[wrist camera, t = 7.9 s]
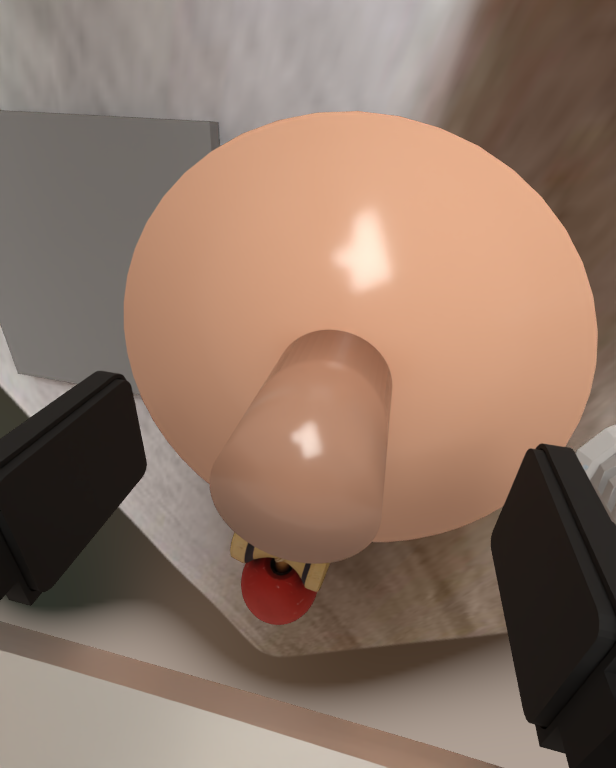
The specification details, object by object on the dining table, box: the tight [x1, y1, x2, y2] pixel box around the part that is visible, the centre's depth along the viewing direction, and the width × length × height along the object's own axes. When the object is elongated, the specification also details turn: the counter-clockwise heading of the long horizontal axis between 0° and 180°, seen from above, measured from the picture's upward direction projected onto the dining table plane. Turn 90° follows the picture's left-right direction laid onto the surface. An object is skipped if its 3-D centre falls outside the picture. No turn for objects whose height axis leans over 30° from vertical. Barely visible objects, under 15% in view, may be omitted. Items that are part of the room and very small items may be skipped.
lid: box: [124, 111, 598, 564], centre depth 11 cm, size 14×14×6 cm
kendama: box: [230, 533, 330, 625], centre depth 29 cm, size 8×6×18 cm
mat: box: [0, 110, 220, 395], centre depth 24 cm, size 16×16×1 cm
